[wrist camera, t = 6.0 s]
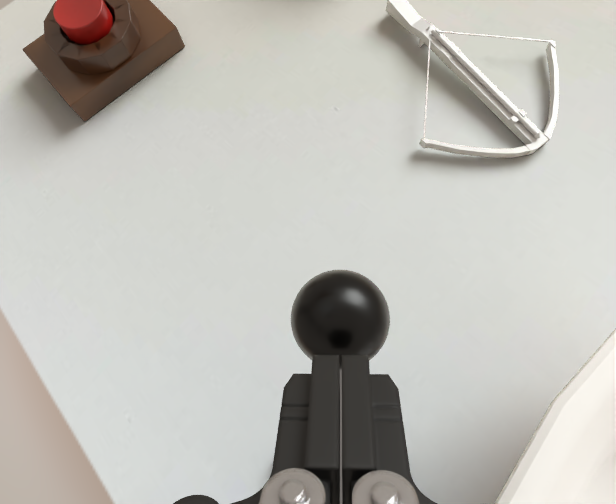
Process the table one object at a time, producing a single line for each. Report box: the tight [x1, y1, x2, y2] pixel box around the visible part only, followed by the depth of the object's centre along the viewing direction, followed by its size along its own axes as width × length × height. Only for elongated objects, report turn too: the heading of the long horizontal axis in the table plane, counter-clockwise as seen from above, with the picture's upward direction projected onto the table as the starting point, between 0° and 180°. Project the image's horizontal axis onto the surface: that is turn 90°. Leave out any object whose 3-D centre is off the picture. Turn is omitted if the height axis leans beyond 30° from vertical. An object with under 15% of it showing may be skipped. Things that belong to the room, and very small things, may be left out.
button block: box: [23, 0, 185, 121], centre depth 38 cm, size 10×7×4 cm
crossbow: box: [386, 0, 559, 158], centre depth 36 cm, size 16×13×2 cm
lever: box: [291, 270, 390, 504], centre depth 17 cm, size 14×3×3 cm, turn 179°
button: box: [53, 0, 113, 45], centre depth 36 cm, size 4×4×2 cm
